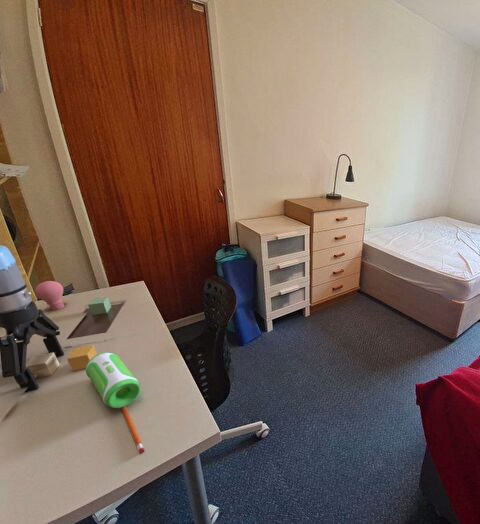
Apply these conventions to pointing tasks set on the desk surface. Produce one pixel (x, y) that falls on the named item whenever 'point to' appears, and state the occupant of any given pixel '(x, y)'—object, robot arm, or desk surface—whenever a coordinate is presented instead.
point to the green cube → (99, 305)
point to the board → (95, 322)
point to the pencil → (132, 430)
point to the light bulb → (51, 294)
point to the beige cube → (43, 364)
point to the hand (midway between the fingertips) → (45, 371)
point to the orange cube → (81, 357)
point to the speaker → (112, 380)
